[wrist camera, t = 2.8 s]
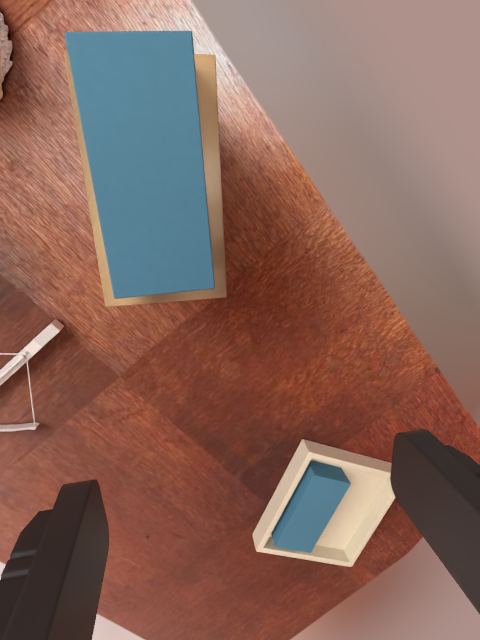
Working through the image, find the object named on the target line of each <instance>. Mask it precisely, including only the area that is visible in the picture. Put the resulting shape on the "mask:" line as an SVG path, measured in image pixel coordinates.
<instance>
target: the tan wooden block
mask: <svg viewBox="0 0 480 640" xmlns="http://www.w3.org/2000/svg"><path fill="white" fill-rule="evenodd" d="M64 59H65V65H66V71H67V77H68V84H69V90H70V96H71V102H72V108H73V114H74V120H75V126H76V132H77V138H78V144H79V150H80V156H81V162H82V168H83V174H84V180H85V186H86V192H87V198H88V204H89V211H90V217H91V223H92V229H93V235H94V241H95V247H96V253H97V259H98V265H99V271H100V277H101V283H102V289H103V295H104V301H105V306H106V307H111V306H123V305H136V304H149V303H161V302H174V301H187V300H199V299H212V298H225V297H227V287H226V266H225V246H224V225H223V205H222V184H221V164H220V143H219V123H218V102H217V82H216V61H215V55H205V54H194V59H195V70H196V81H197V92H198V104H199V115H200V126H201V137H202V148H203V159H204V171H205V182H206V193H207V204H208V215H209V226H210V237H211V249H212V260H213V271H214V282H215V288H214V289H206V290H196V291H187V292H177V293H167V294H158V295H148V296H138V297H129V298H119V299H115V298H114V295H113V290H112V284H111V279H110V274H109V268H108V263H107V258H106V252H105V247H104V242H103V236H102V231H101V226H100V220H99V215H98V210H97V204H96V199H95V194H94V188H93V183H92V178H91V172H90V167H89V162H88V156H87V151H86V146H85V140H84V135H83V130H82V124H81V119H80V114H79V108H78V103H77V98H76V92H75V87H74V82H73V76H72V71H71V66H70V60H69V55H68V52H64Z"/></svg>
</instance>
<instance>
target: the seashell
mask: <svg viewBox="0 0 480 640" xmlns="http://www.w3.org/2000/svg"><path fill="white" fill-rule="evenodd" d="M8 30H9V29H8V26H7V25H5V24H4V17H3V14H2V13H1V12H0V100H1V99H2V96H3V91H2V86H1V84H2V82H3V81H4V76H5V74H6V73H7V72H8V71H9V69H10V68H11V66H12V64H13V62H12V61H10V60H9V59H10V54H11V51H12V40H8V37H7V35H8Z"/></svg>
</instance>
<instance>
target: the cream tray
mask: <svg viewBox="0 0 480 640" xmlns="http://www.w3.org/2000/svg"><path fill="white" fill-rule="evenodd" d="M311 460H313V461H317V462H321V463H325V464H329V465H333V466H337V467H340V468H342V470H343V471H344V473H345V475H346V476H347V478H348V480H349V481H350V483H351V485H350V487H349V488H348V490H347V492H346V493H345V495H344V497H343V499H342V500H341V502H340V504H339V505H338V507H337V509H336V511H335V512H334V514H333V516H332V517H331V519H330V521H329V523H328V524H327V526H326V528H325V529H324V531H323V533H322V534H321V536H320V538H319V540H318V541H317V543H316V545H315V546H314V548H313V550H312V552H311V553H307V552H302V551H296V550H290V549H284V548H278V547H275V545H274V541H273V538H272V534H271V533H272V531H273V529H274V527H275V525H276V524H277V522H278V520H279V518H280V516H281V514H282V512H283V511H284V509H285V507H286V505H287V503H288V501H289V499H290V498H291V496H292V494H293V492H294V490H295V488H296V487H297V485H298V483H299V481H300V479H301V477H302V475H303V474H304V472H305V470H306V468H307V466H308V464H309V462H310V461H311ZM391 465H392V463H390V462H386V461H383V460H379V459H375V458H371V457H368V456H364V455H360V454H357V453H353V452H349V451H345V450H342V449H338V448H334V447H330V446H327V445H323V444H319V443H316V442H312V441H308V440H304V439H302V441H301V442H300V444H299V446H298V448H297V450H296V452H295V454H294V456H293V458H292V460H291V462H290V463H289V465H288V467H287V469H286V471H285V473H284V475H283V477H282V479H281V481H280V483H279V484H278V486H277V488H276V490H275V492H274V494H273V496H272V498H271V500H270V502H269V504H268V505H267V507H266V509H265V511H264V513H263V515H262V517H261V519H260V521H259V523H258V525H257V526H256V528H255V530H254V532H253V534H252V536H253V540H254V545H255V549H256V551H257V552H263V553H269V554H276V555H282V556H288V557H294V558H300V559H306V560H312V561H318V562H324V563H330V564H336V565H342V566H349V567H352V566H353V564H354V563H355V561H356V559H357V558H358V556H359V555H360V553H361V551H362V550H363V548H364V547H365V545H366V543H367V542H368V540H369V539H370V537H371V535H372V534H373V532H374V531H375V529H376V528H377V526H378V524H379V523H380V521H381V520H382V518H383V516H384V515H385V513H386V512H387V510H388V508H389V507H390V505H391V504H392V502H393V501H394V499H395V495H394V493H393V490H392V487H391V481H390V474H391Z"/></svg>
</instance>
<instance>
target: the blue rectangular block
mask: <svg viewBox="0 0 480 640" xmlns="http://www.w3.org/2000/svg"><path fill="white" fill-rule="evenodd" d="M65 39H66V44H67V50H68V55H69V60H70V66H71V71H72V76H73V82H74V87H75V92H76V98H77V103H78V108H79V114H80V119H81V124H82V130H83V135H84V140H85V146H86V151H87V156H88V162H89V167H90V172H91V178H92V183H93V188H94V194H95V199H96V204H97V210H98V215H99V220H100V226H101V231H102V236H103V242H104V247H105V252H106V258H107V263H108V268H109V274H110V279H111V284H112V290H113V295H114V298H115V299H119V298H129V297H138V296H148V295H158V294H167V293H177V292H187V291H196V290H206V289H214V288H215V282H214V271H213V260H212V249H211V237H210V226H209V215H208V204H207V193H206V182H205V171H204V159H203V148H202V137H201V126H200V115H199V104H198V92H197V81H196V70H195V59H194V48H193V37H192V32H191V31H124V32H65Z"/></svg>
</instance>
